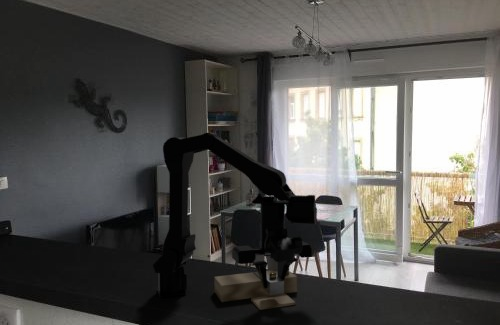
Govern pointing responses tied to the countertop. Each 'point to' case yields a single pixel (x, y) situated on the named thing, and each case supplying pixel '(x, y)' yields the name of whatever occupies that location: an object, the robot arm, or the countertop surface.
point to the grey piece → (274, 284)
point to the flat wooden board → (272, 301)
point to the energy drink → (272, 264)
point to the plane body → (248, 285)
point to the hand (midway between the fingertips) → (272, 287)
